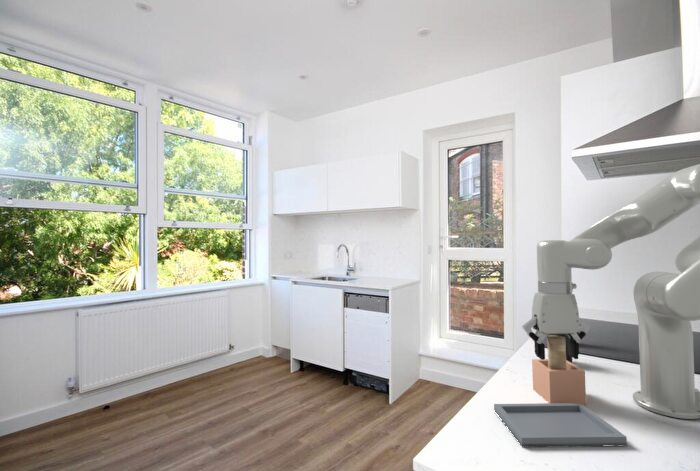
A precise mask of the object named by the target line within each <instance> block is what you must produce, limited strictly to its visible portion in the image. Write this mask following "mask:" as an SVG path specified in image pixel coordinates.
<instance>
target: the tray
mask: <svg viewBox="0 0 700 471" xmlns="http://www.w3.org/2000/svg"><path fill="white" fill-rule="evenodd" d="M494 410H495V412H496V413H497V414H498V415H499V417H500V418H501V419H502V421H503V422H504V423H505V425H506V426H507V427H508V429H509V430H510V431H511V433H512V434H513V435H514V436H513V435H512V434H511V433H510V434H511V435H512V436H513V437H515V438H516V439H517V440H518V441H517V440H516V439H515V438H514V439H515V440H516V441H517V443H518V442H519V443H520V444H519V443H518V444H519V445H520V446H522V447H521V448H524V447H523V446H568V447H569V448H570V447H571V448H573V447H572V446H575V447H576V446H591V447H604V446H603V445H628V444H627V443H628V440H627V439H628V437H627V436H626V435H625V434H624V433H622V432H621V431H619V430H618V429H617V428H615V427H614V426H613V425H611V424H610V423H609V422H607V420H605V419H603V418H602V417H600V416H599V415H597V414H596V413H595V412H594V411H592V410H591V409H589V408H588V407H587V406H586V405H585V404H581V403H548V402H547V403H542V402H541V403H494V404H493V411H494ZM495 412H494V413H495ZM496 413H495V414H496ZM499 417H498V418H499ZM500 418H499V419H500ZM502 421H501V422H502ZM503 422H502V423H503ZM505 425H504V426H505ZM506 426H505V427H506ZM507 427H506V428H507ZM508 429H507V430H508ZM509 430H508V431H509ZM510 431H509V432H510ZM568 447H567V448H568ZM575 447H574V448H575Z"/></svg>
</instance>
